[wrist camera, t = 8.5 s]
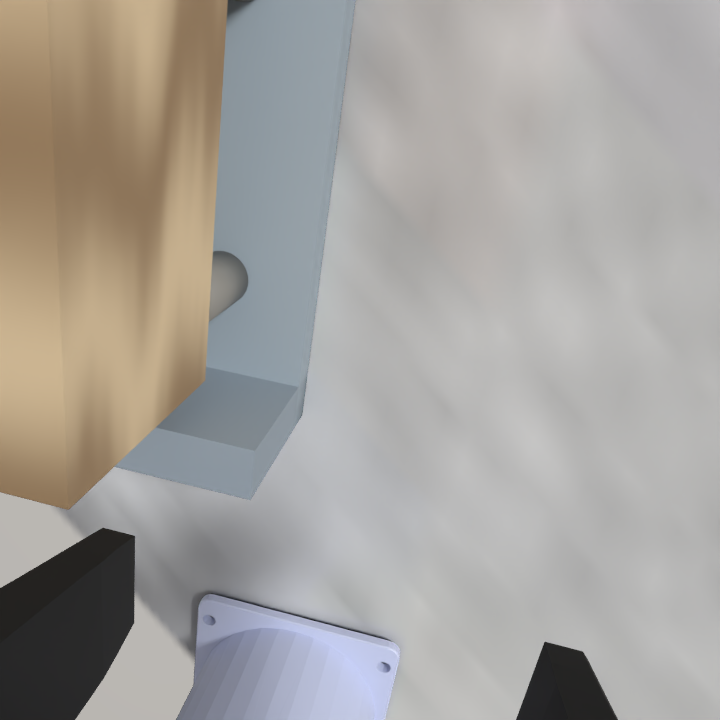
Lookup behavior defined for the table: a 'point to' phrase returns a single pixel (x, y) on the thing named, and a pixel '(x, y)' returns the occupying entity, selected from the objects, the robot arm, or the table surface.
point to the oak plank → (102, 229)
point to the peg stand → (261, 244)
